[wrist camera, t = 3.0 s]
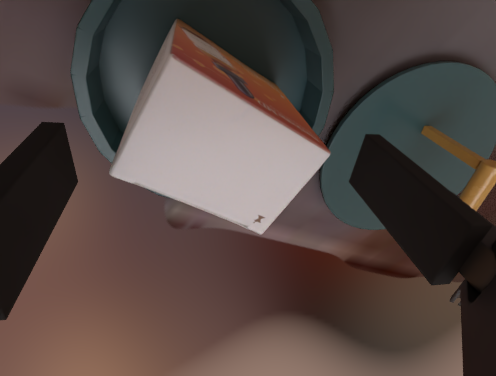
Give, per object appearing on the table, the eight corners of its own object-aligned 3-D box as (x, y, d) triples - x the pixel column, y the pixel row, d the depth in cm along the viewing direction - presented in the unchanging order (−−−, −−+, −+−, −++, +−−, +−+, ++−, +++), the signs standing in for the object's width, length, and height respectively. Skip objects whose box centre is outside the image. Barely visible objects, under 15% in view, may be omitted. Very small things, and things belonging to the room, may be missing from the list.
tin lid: (299, 225, 31) (332, 295, 24) (348, 49, 21) (424, 83, 15) (437, 220, 34) (499, 280, 27) (531, 67, 25) (659, 101, 18)
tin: (106, 180, 24) (97, 205, 21) (60, -78, 15) (35, -88, 13) (292, 180, 27) (304, 201, 25) (342, -33, 18) (368, -34, 16)
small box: (277, 84, 22) (338, 155, 13) (235, 145, 24) (264, 239, 15) (175, 13, 18) (169, 48, 10) (137, 93, 20) (105, 177, 12)
